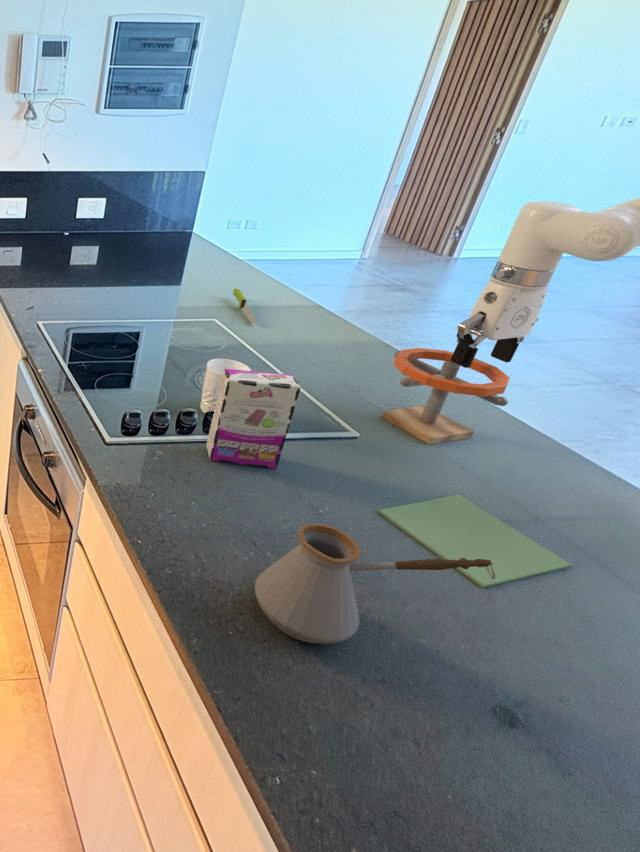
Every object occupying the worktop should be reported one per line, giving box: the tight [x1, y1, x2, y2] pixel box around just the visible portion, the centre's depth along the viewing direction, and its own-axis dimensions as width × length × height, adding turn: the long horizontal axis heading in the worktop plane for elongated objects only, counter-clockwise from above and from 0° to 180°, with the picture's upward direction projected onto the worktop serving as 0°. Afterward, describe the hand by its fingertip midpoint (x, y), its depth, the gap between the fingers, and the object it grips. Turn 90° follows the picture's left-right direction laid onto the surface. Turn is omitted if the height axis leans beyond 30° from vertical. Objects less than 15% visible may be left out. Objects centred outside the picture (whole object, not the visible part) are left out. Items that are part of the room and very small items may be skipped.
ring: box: [392, 347, 511, 397], centre depth 114 cm, size 16×16×2 cm
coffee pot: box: [254, 523, 495, 645], centre depth 74 cm, size 21×12×15 cm, turn 69°
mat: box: [377, 494, 573, 589], centre depth 92 cm, size 16×16×1 cm
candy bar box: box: [205, 369, 302, 469], centre depth 107 cm, size 11×5×16 cm, turn 76°
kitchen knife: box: [232, 288, 259, 325], centre depth 173 cm, size 22×1×3 cm, turn 170°
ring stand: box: [381, 350, 509, 446], centre depth 116 cm, size 15×21×14 cm
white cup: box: [199, 358, 252, 414], centre depth 123 cm, size 8×8×10 cm
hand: (479, 361), depth 115 cm, fingers open, 9 cm apart
